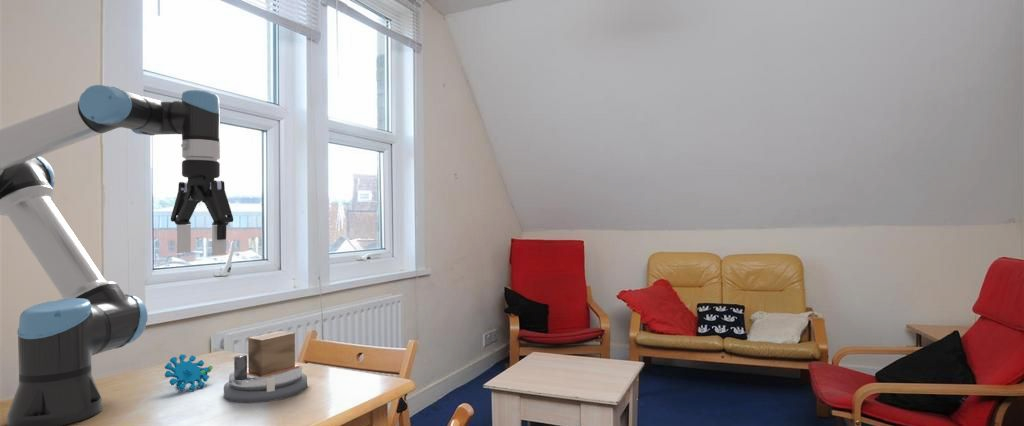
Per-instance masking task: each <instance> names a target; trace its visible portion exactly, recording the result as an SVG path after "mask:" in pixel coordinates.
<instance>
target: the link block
mask: <svg viewBox="0 0 1024 426" xmlns="http://www.w3.org/2000/svg"><path fill="white" fill-rule="evenodd" d="M247 342H248V344H247V345H248V347H247V348H248V353H247V354H248V356H247V367H248V372H250V373H255V374H259V375H264V374H268V373H271V372H275V371H279V370H282V369H286V368H289V367H293V366H295V364H296V332H291V331H290V332H289V331H284V330H279V331H275V332H269V333H265V334H261V335H256V336H255V335H254V336H251V337H248V338H247Z"/></svg>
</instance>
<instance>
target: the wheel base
mask: <svg viewBox="0 0 1024 426" xmlns="http://www.w3.org/2000/svg"><path fill="white" fill-rule="evenodd" d="M307 386H308V377H307V375H306V374H305V373H303V372H302V378H301V379H300V380H299V381H297V382H295V383H293V384H290V385H287V386H284V387H279V388H275V377H269V378H267V390H254V391H247V390H237V389H233V388H231V387H230V386H229V381H227V382H225V384H224V385H223V397H224V399H226V400H227V401H231V402H236V403H246V404H247V403H248V404H249V403H263V402H264V403H266V402H271V401H279V400H282V399H286V398H290V397H293V396H296V395H297V394H300V393H302V392H303V391H305V390H306V389H307Z"/></svg>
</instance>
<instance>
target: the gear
mask: <svg viewBox="0 0 1024 426" xmlns="http://www.w3.org/2000/svg"><path fill="white" fill-rule="evenodd" d="M186 358H187V354H180V355H179V357H178V358H177V356H173V357H171V358H170V359H169V362H167V363H166V365H165V366H164V369H165V370H166V371H165V373H164V377H165V378H171V379H170V380H169V384H170V385H171V386H174V385H175V386H176V387H177V389H179V390H180V391H184V389H186V386H187V385H188V384H190V385H189V387H188V391H190V392H191V391H193V392H194V391H195V390H196V389H197V388H199V389H201V388H203V387H204V386H205V384H206V383H205V382H207V381H208V380H209V378H210V375H208V373H211V371H212V370H213V369H214V367H213V366H212V365H209V366H207V367H203V366H204V365H205V361H204V360H202V359H201V360H199V361H197V362H195V360H196V359H197V357H196V356H194V355H193V354H192V355H190V357H189V358H188V360H186V361H185V359H186ZM178 359H179V362H177V361H178ZM196 382H197V386H196V384H195V383H196Z"/></svg>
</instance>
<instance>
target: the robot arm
mask: <svg viewBox="0 0 1024 426" xmlns="http://www.w3.org/2000/svg"><path fill="white" fill-rule="evenodd" d="M180 99H181V100H174V101H172V100H158V99H154V98H150V97H147V96H142V95H140V94H136V93H132V92H129V91H126V90H123V89H120V88H118V87H115V86H108V85H107V86H106V85H103V84H93V85H91V86H89V87H87V88H86V89H84V92H82V93H81V94H80V96H79V100H76V101H74V102H71V103H69V104H65V105H62V106H60V107H57V108H55V109H52V110H49V111H47V112H44V113H41V114H39V115H36V116H33V117H29V118H27V119H25V120H22V121H19V122H16V123H13V124H11V125H8V126H5V127H3V128H0V216H6V217H8V218H9V219H10V222H11V223H12V224H13V226H14V227H15V229H16V230H17V232H18V234H19V235H20V236H21V238H22V239H23V241H24V242H25V244H26V245H27V247H28V248H29V250H30V251H31V253H32V254H33V256H34V257H35V259H36V260H37V262H38V263H39V265H40V266H41V267H42V270H43V271H44V272H45V273H46V275H47V276H48V278H49V279H50V282H52V284H53V286H55V287H54V288H56V290H57V291H58V293H59V294H60V295H61V299H58V300H50V301H45V302H40V303H38V304H34V305H32V306H30V307H28V308H26V309H24V310H23V311H22V312H21V313H20V315H19V319H18V321H19V322H18V328H17V333H16V334H17V339H18V340H17V341H18V346H17V347H18V386H17V389H16V392H15V394H14V396H13V399H12V402H11V404H10V406H9V409H8V412H7V416H6V418H7V419H6V420H7V421H6V425H7V426H65V425H70V424H73V423H78V422H80V421H83V420H87V419H88V418H92V417H94V416H95V415H97V414H98V413H100V412H101V411H102V409H103V402H102V401H103V399H102V396H101V394H100V391H99V389H98V387H97V384H96V382H95V379H94V377H93V374H92V356H95V355H98V354H101V353H102V354H103V353H104V352H108V351H111V350H114V349H119V348H123V347H125V346H126V345H128V344H131V343H133V342H135V341H136V340H137V339H139V338H140V337H141V336H142V334H143V333H144V331H145V330H146V327H147V322H148V319H149V318H148V317H149V315H148V310H147V306H146V305H145V303H144V301H143V300H142V299H140V298H139V297H138V296H136V295H131V294H127V293H126V294H125V293H124V291H123V289H121V287H120V285H119V284H118V283H117V282H116V281H110V280H106V279H105V277H104V276H103V273H102V274H101V272H100V270H99V269H98V266H97V265H96V264H95V263H94V261H93V260H92V258H91V256H90V255H89V253H88V252H87V251H86V249H85V247H84V246H83V245H82V244H81V242H80V241H79V239H78V237H77V236H76V235H75V233H74V231H73V230H72V229H71V227H70V225H69V224H68V223H67V221H66V219H65V218H64V216H63V215H62V214H61V212H60V211H59V209H58V207H56V205H55V203H54V201H52V198H53V197H54V194H55V190H54V187H55V181H54V179H55V177H56V176H55V171H54V170H53V168H52V166H51V165H50V163H49V162H48V161H47V160H46V159H45V158H44V157H42V156H44V155H47V154H49V153H52V152H55V151H58V150H61V149H63V148H66V147H69V146H72V145H74V144H77V143H79V142H83V141H85V140H88V139H90V138H93V137H96V136H99V135H101V134H104V133H108V132H111V131H113V130H115V129H118V128H123V129H124V128H125V129H129V130H131V131H132V132H133V133H135V134H136V135H137V134H138V135H148V136H155V135H156V136H157V135H181V140H182V142H181V144H180V146H181V148H182V149H181V150H182V151H181V152H182V153H181V156H182V158H183V159H185V160H183V161H182V162H181V176H182V177H184V178H187V181H180V182H178V189H177V190H178V191H177V194H176V197H175V198H176V199H175V201H174V206H173V208H172V211H171V212H172V213H171V215H170V221H171V222H174V224H175V225H176V254H185V253H191V251H192V250H191V249H192V248H191V245H192V243H191V241H192V239H191V236H192V235H191V234H192V233H191V228H192V227H191V226H192V225H191V224H192V223H191V221H190V220H191V218H192V216H193V214H194V212H195V210H196V208H197V206H198V204H199V203H203V204H205V206H206V209H207V211H208V213H209V215H210V217H211V219H212V221H213V222H212V223H211V225H212V226H211V255H212V256H223V255H227V254H226V253H227V250H226V249H227V226H228V225H229V224H230V223H233V222H234V217H233V213H232V209H231V206H230V203H229V200H228V196H227V193H226V190H225V188H226V187H225V181H224V180H215V179H218V178H219V177H221V175H220V174H221V173H220V172H221V171H220V170H221V168H220V166H221V163H220V162H219V161H218V160H220V158H221V150H220V149H221V142H220V124H221V123H220V122H221V121H220V118H221V111H220V107H221V106H220V98H219V96H218V95H217V94H215V93H214V92H211V91H206V90H201V89H200V90H199V89H198V90H197V89H189V90H184V91H183V92H182V94H181V98H180Z"/></svg>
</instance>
